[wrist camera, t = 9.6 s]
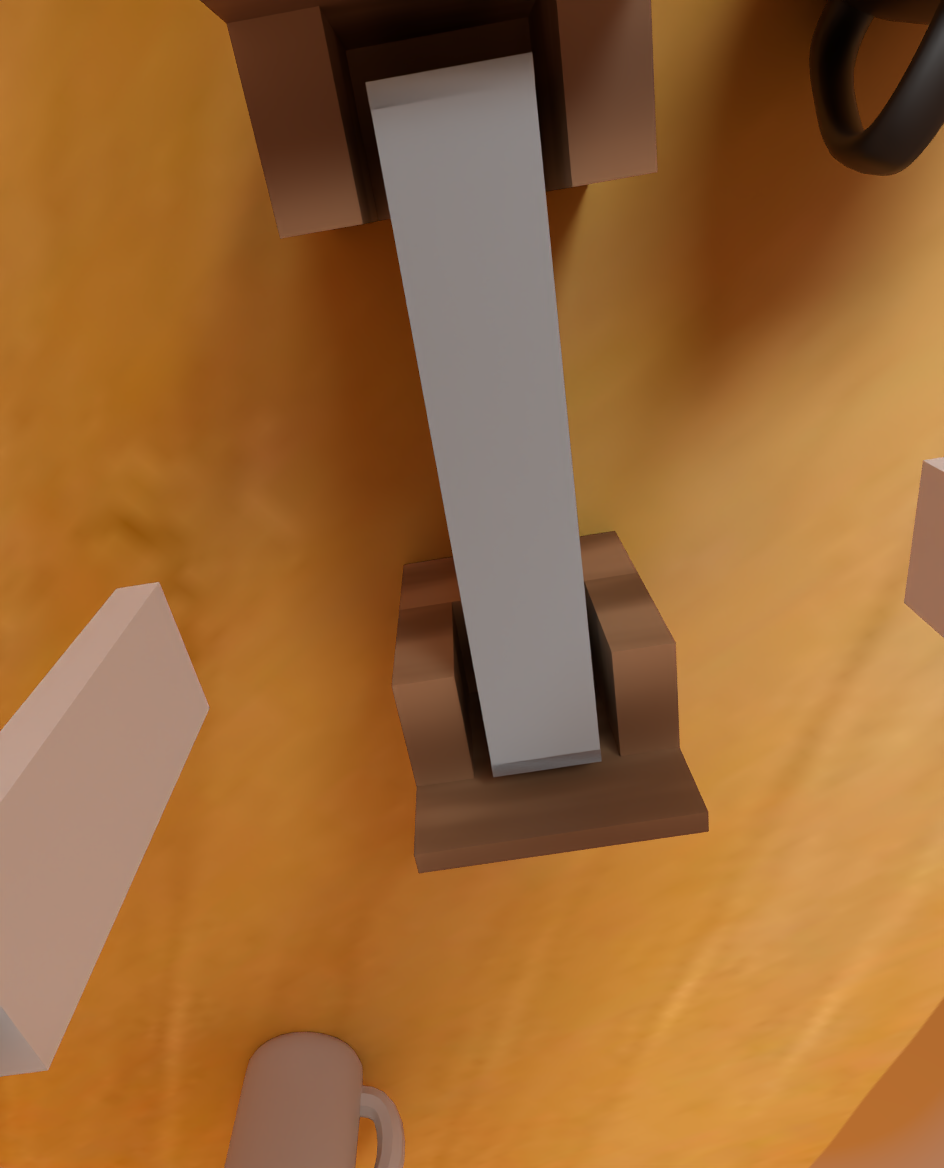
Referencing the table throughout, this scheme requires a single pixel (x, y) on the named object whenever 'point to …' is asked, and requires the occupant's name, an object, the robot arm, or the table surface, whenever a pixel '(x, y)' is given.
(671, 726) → the post foot
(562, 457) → the rail
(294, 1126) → the cup
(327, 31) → the post head
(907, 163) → the mug
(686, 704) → the table surface
